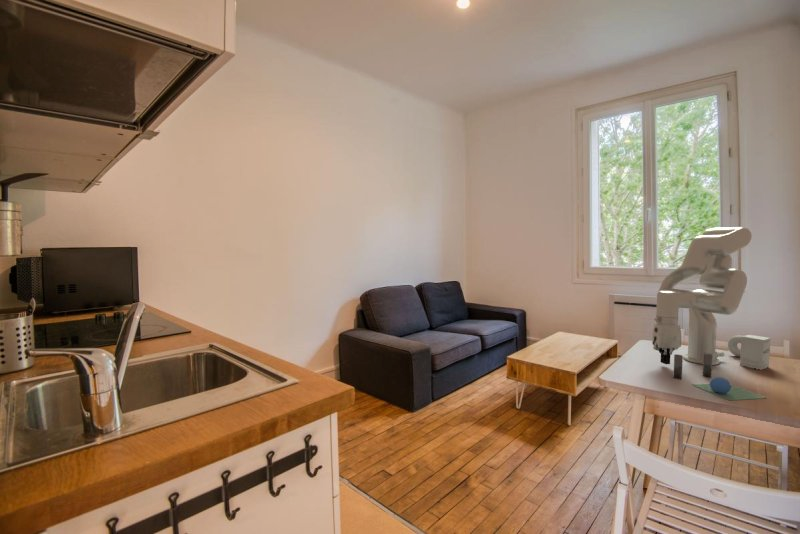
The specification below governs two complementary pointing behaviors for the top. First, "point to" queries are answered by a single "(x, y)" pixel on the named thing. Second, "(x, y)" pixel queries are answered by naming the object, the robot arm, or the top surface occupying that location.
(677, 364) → the post
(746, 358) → the supplement box
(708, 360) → the post
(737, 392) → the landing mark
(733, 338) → the donut
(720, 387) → the ball
